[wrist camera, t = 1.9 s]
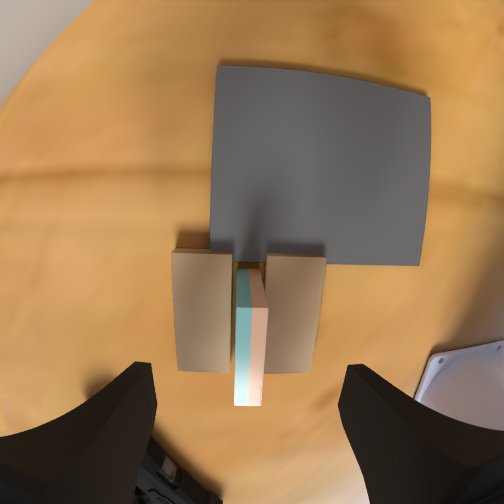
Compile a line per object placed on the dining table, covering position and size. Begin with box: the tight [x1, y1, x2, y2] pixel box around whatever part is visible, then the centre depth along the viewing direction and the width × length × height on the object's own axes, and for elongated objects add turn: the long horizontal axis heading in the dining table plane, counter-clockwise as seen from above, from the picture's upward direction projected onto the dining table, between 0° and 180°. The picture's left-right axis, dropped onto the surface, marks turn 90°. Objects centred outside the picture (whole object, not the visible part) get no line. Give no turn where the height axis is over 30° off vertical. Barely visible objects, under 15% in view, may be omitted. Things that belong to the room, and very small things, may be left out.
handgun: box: [133, 438, 223, 504], centre depth 20 cm, size 3×17×12 cm
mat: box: [210, 66, 431, 266], centre depth 15 cm, size 12×10×1 cm
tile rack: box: [171, 248, 326, 374], centre depth 17 cm, size 8×7×1 cm
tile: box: [234, 268, 268, 406], centre depth 15 cm, size 1×5×5 cm, turn 177°
